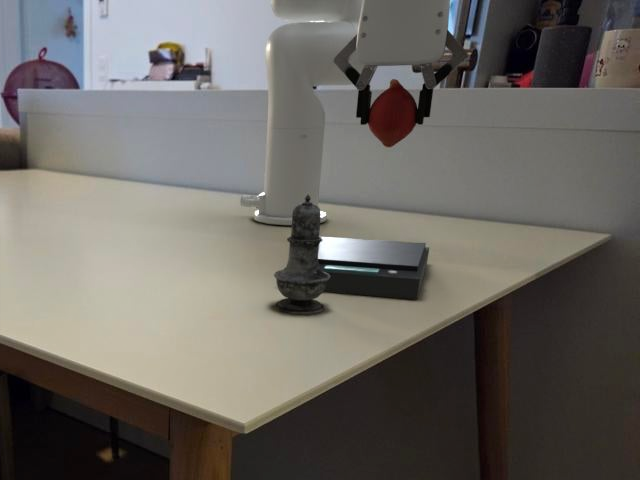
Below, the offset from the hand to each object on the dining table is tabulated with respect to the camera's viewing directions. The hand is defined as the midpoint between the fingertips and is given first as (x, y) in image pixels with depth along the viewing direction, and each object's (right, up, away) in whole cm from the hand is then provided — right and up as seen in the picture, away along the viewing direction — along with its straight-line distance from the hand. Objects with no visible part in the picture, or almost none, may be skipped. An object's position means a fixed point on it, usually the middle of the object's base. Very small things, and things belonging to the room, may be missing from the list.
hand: (391, 122), depth 91 cm
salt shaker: (-14, -25, -12) cm, 31 cm away
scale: (-4, -19, 0) cm, 20 cm away
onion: (0, -3, +1) cm, 3 cm away
